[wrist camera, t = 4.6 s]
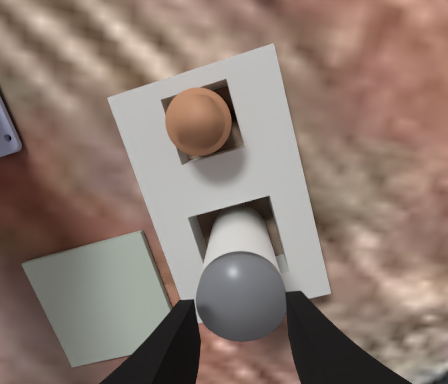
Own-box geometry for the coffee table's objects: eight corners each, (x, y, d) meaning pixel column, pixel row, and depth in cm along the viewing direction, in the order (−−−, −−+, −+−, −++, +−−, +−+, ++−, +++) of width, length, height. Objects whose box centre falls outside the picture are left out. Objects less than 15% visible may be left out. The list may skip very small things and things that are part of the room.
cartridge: (205, 212, 20) (183, 273, 11) (258, 198, 19) (275, 250, 11) (220, 260, 20) (210, 349, 12) (271, 248, 20) (296, 331, 12)
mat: (26, 261, 21) (21, 264, 21) (142, 229, 20) (140, 232, 20) (75, 362, 23) (72, 367, 23) (183, 338, 22) (182, 343, 22)
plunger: (175, 106, 18) (156, 99, 13) (224, 91, 18) (220, 78, 13) (191, 155, 19) (177, 163, 14) (238, 141, 18) (239, 145, 14)
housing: (124, 102, 18) (107, 97, 16) (268, 55, 17) (273, 43, 15) (195, 302, 21) (190, 325, 19) (319, 274, 20) (331, 293, 18)
